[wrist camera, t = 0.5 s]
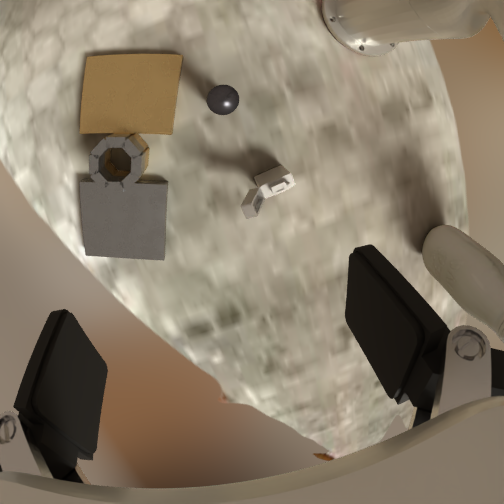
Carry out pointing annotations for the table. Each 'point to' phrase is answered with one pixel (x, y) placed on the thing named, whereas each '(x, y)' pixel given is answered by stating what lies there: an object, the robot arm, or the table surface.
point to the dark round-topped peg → (223, 99)
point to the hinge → (124, 128)
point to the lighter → (266, 189)
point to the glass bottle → (467, 274)
